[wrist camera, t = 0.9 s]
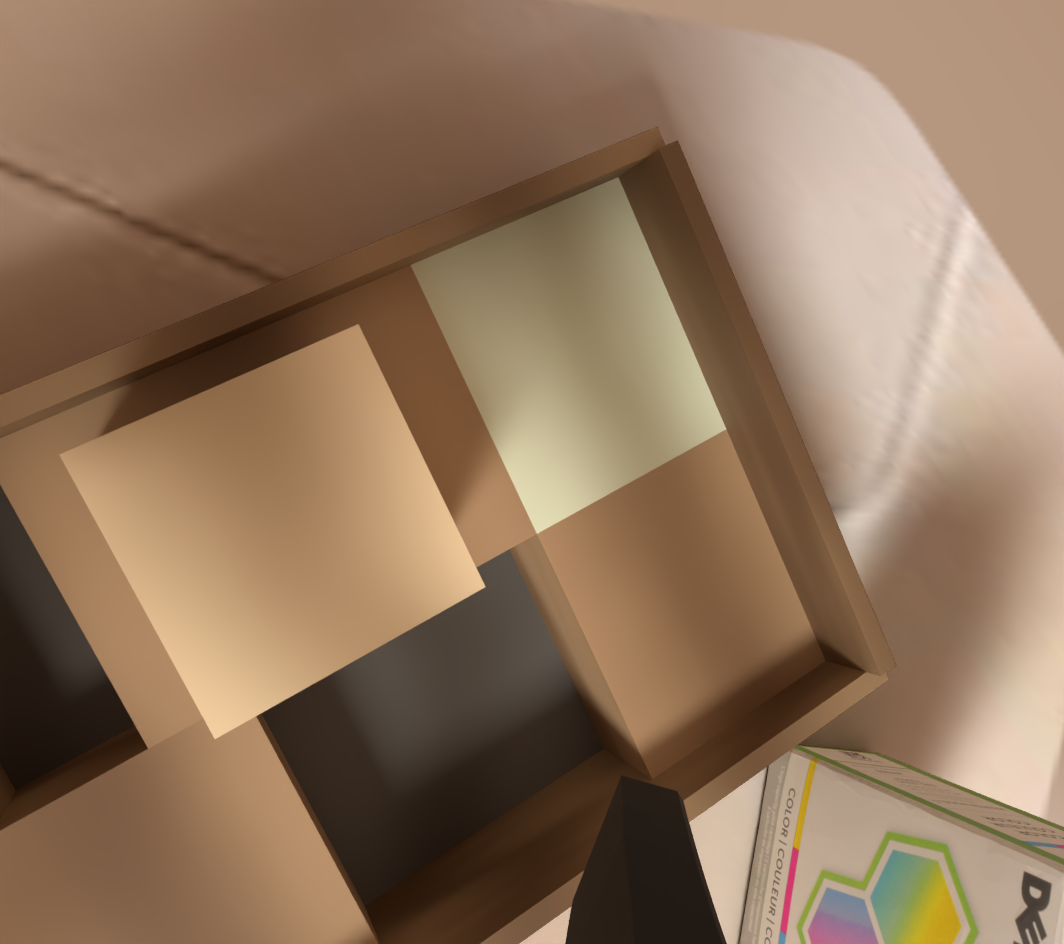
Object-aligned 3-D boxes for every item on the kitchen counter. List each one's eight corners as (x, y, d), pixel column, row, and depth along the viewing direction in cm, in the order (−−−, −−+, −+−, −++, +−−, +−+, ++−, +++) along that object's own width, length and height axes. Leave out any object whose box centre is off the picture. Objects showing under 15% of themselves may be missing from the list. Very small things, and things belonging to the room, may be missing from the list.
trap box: (85, 1108, 20) (53, 1296, 16) (-263, 539, 18) (-420, 560, 14) (777, 648, 27) (903, 684, 22) (576, 187, 25) (668, 118, 20)
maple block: (209, 686, 18) (214, 739, 15) (86, 460, 18) (58, 455, 14) (430, 566, 20) (485, 586, 16) (325, 354, 19) (359, 324, 16)
